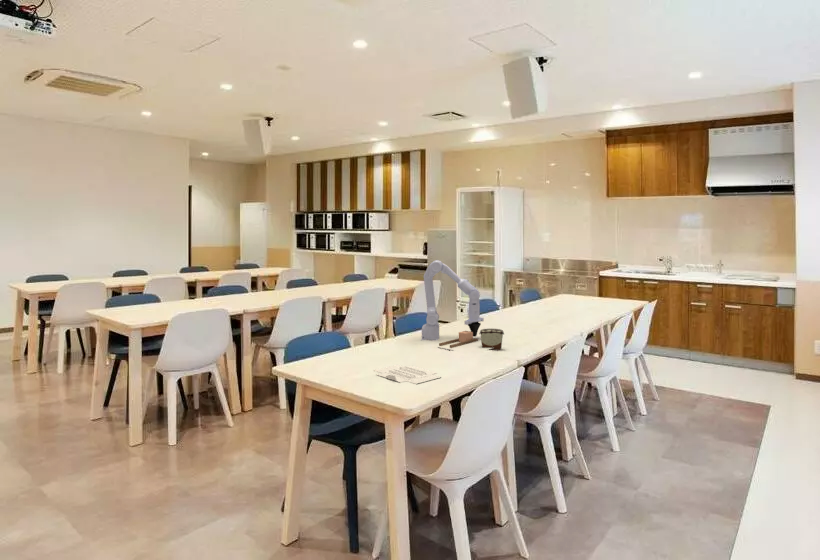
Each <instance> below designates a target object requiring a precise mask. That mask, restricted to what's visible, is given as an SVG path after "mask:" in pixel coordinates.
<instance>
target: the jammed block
mask: <svg viewBox="0 0 820 560" xmlns="http://www.w3.org/2000/svg"><path fill="white" fill-rule="evenodd" d="M458 338H459V342H458V343H460V342H464V341H468V340H472V339H474V336H473V332H471V330H463V331H459V332H458Z"/></svg>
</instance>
